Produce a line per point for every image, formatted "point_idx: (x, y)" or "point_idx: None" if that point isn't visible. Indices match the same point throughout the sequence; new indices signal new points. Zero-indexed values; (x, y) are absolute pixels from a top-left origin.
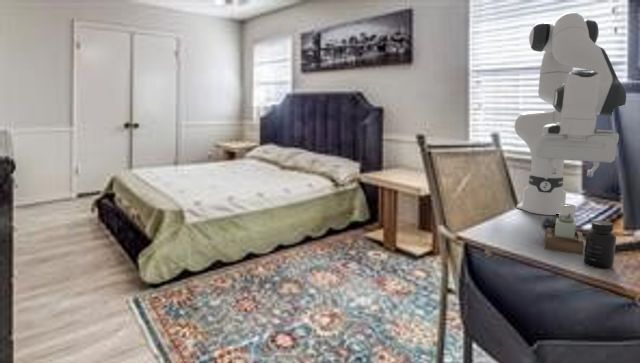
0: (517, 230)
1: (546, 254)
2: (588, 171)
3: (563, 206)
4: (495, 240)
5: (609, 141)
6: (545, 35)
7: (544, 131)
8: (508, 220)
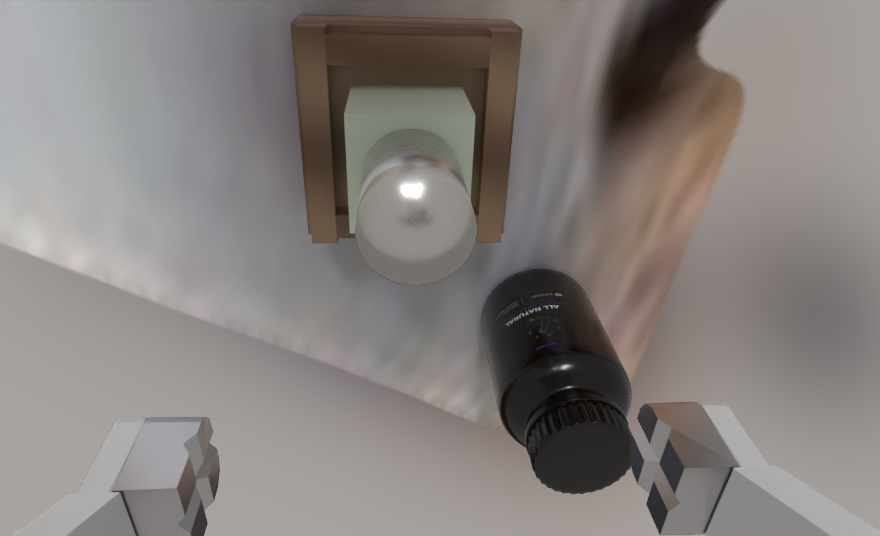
0: None
1: (329, 282)
2: (662, 526)
3: (379, 274)
4: (41, 182)
5: None
6: None
7: None
8: None
